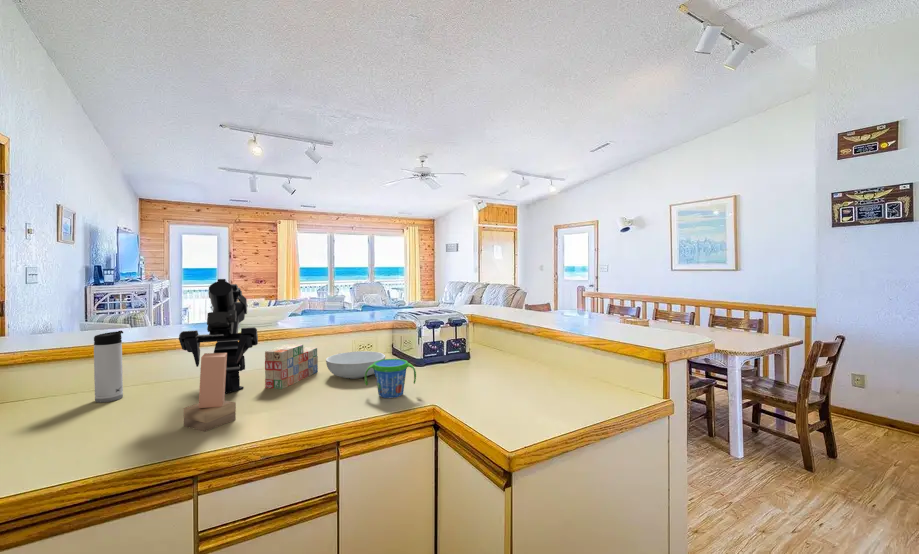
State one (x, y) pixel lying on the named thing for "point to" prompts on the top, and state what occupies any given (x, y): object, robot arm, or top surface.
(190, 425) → the tower base
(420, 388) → the top surface
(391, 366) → the snack cup
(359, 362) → the serving bowl
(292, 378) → the stack of blocks
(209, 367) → the pillar
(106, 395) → the travel mug
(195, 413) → the tower top
